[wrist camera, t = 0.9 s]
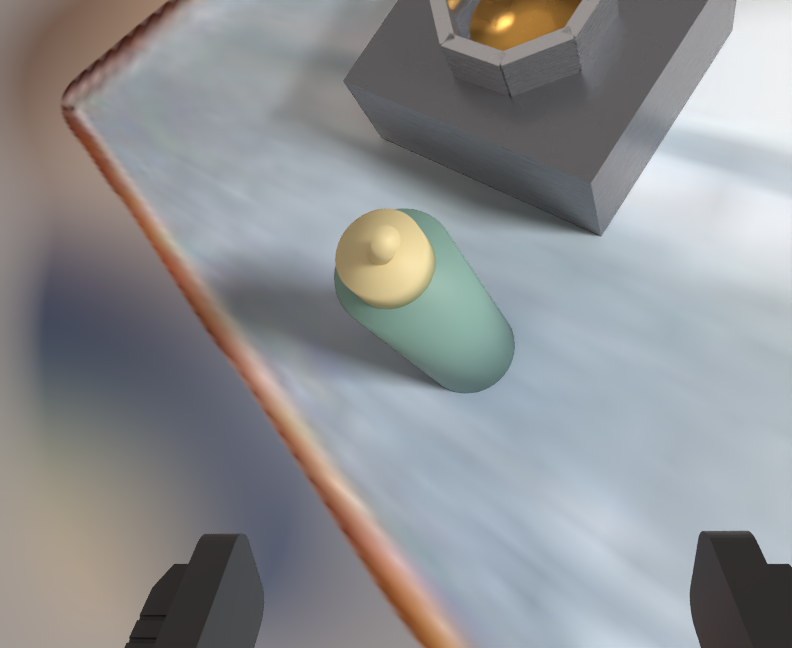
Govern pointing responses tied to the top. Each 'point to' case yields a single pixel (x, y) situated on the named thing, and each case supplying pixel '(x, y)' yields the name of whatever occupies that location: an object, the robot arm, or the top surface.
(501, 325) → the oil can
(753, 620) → the robot arm
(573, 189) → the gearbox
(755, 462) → the top surface
